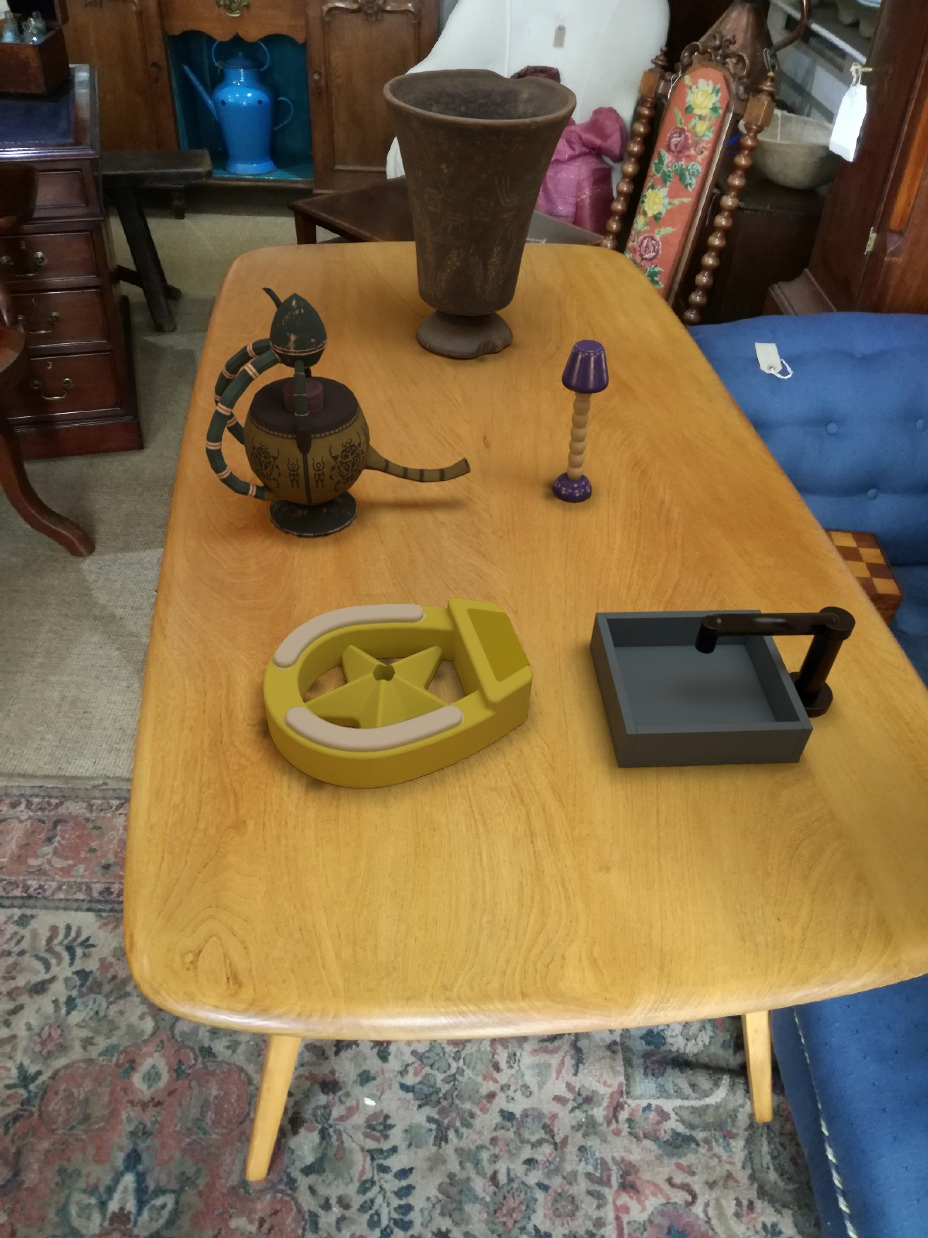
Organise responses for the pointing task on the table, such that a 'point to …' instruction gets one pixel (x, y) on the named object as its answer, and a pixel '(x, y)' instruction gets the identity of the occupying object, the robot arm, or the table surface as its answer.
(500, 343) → the vase
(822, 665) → the tap column
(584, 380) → the toy lamp
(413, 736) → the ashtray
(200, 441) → the table surface
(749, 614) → the spout
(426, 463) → the table surface
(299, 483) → the teapot
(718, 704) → the sink
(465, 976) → the table surface
